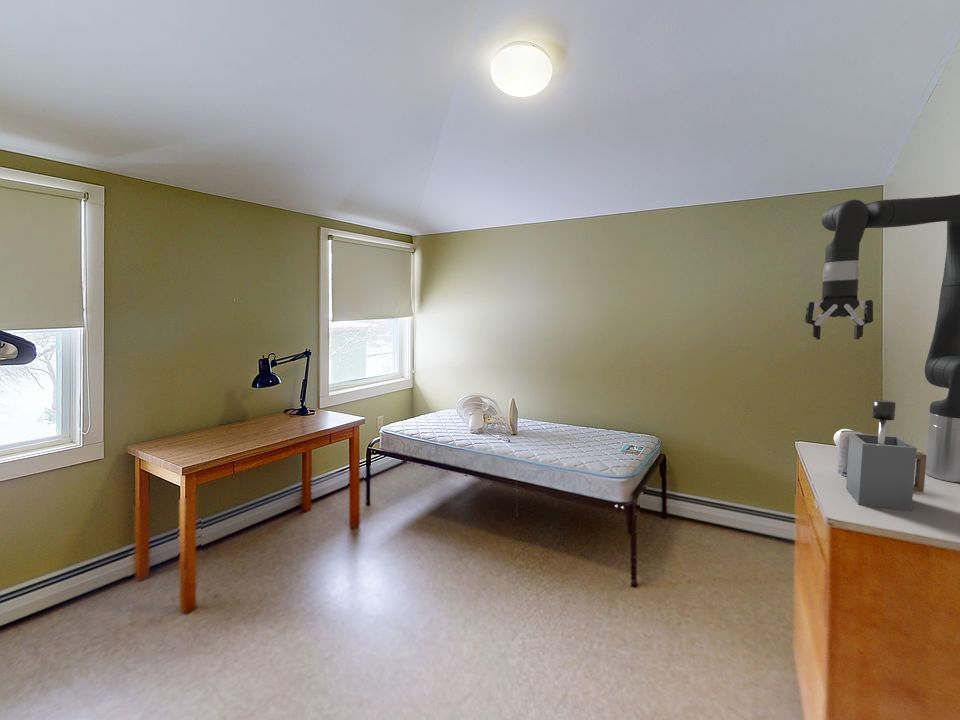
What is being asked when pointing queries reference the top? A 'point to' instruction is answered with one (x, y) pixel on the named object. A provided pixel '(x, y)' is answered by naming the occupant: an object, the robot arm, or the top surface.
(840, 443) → the energy drink
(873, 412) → the plunger
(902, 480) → the grey square mug
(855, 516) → the top surface
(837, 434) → the lightbulb
